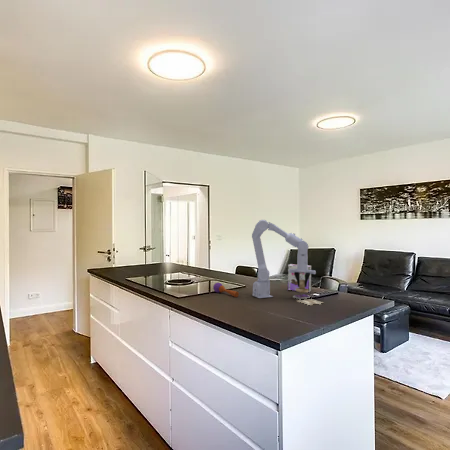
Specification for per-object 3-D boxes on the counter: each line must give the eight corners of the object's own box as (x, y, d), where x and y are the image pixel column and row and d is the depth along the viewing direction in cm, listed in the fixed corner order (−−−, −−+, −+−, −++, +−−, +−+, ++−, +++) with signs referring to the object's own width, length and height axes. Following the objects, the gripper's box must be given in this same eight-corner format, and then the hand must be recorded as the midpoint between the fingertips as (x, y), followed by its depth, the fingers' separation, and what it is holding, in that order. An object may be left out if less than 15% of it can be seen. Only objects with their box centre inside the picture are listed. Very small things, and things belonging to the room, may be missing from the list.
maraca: (232, 291, 180) (210, 283, 195) (233, 301, 181) (211, 292, 196) (240, 288, 184) (218, 280, 199) (240, 297, 185) (219, 289, 200)
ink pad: (299, 299, 177) (299, 297, 177) (292, 297, 183) (292, 295, 183) (311, 298, 181) (311, 296, 181) (304, 296, 186) (304, 294, 186)
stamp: (300, 293, 178) (301, 280, 178) (295, 291, 183) (295, 279, 183) (308, 292, 180) (308, 280, 180) (303, 291, 185) (303, 279, 185)
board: (308, 305, 164) (308, 304, 164) (296, 301, 173) (296, 300, 173) (323, 303, 168) (323, 302, 168) (311, 299, 177) (311, 298, 177)
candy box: (287, 290, 204) (287, 264, 204) (289, 289, 209) (290, 263, 209) (309, 293, 197) (309, 266, 197) (311, 291, 202) (311, 265, 203)
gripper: (288, 262, 181) (288, 286, 180) (315, 263, 176) (314, 288, 175) (290, 261, 187) (290, 284, 187) (316, 262, 182) (315, 286, 182)
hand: (302, 286), depth 182 cm, fingers closed on stamp, 3 cm apart
